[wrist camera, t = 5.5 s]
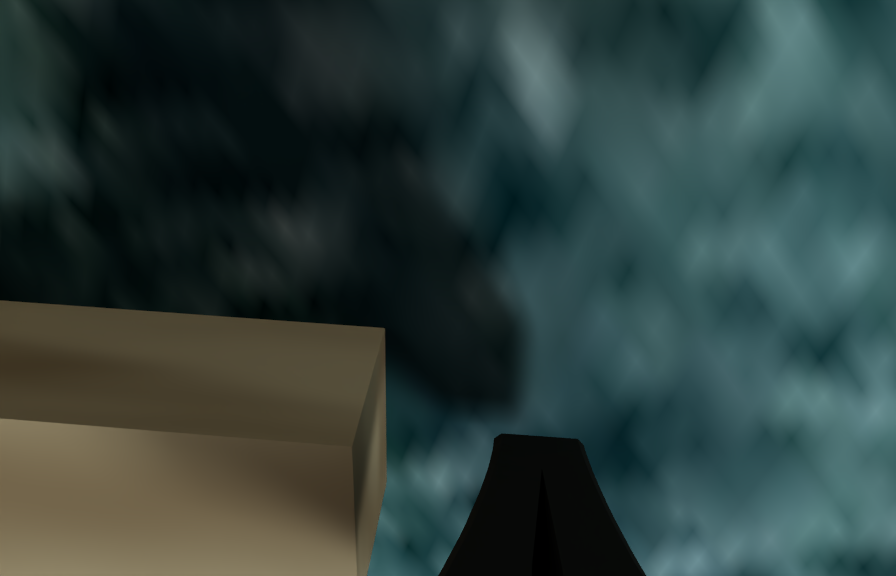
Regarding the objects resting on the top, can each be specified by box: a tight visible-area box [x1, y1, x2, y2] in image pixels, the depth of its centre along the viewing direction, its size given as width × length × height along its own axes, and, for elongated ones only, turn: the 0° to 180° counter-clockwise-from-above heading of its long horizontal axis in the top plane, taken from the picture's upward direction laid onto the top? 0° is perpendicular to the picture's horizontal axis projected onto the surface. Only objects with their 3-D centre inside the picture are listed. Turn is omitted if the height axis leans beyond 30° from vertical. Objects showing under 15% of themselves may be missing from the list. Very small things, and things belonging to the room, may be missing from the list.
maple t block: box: [0, 300, 387, 576], centre depth 13 cm, size 12×12×3 cm
